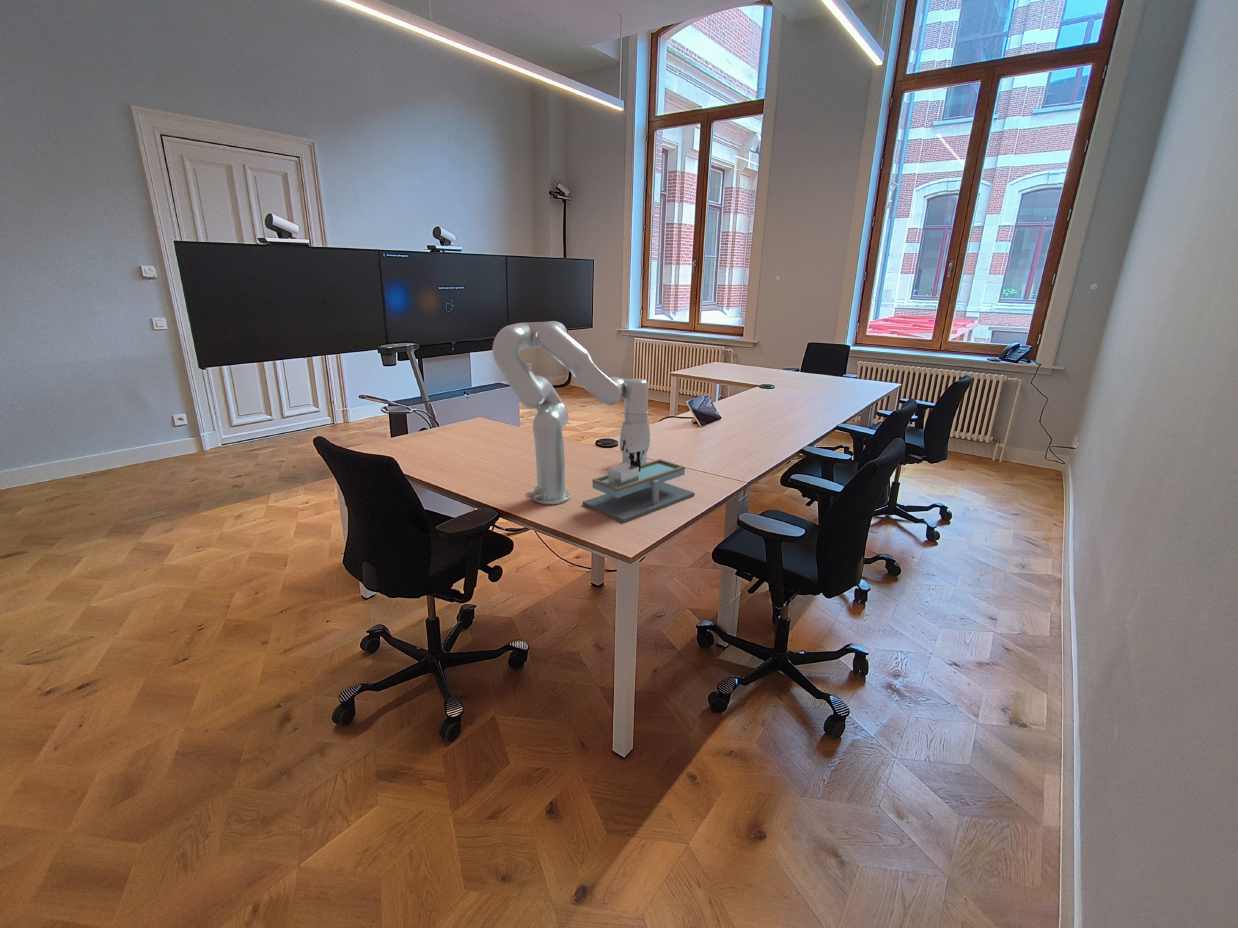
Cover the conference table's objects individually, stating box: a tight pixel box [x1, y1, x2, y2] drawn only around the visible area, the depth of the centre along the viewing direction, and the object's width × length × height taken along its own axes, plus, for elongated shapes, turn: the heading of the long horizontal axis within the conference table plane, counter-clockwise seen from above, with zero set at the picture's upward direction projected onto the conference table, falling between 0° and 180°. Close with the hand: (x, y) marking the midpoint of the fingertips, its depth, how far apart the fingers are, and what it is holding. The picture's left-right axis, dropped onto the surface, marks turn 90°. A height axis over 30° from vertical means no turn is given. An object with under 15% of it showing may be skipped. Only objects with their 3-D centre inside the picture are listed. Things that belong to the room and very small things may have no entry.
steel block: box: [607, 463, 639, 487], centre depth 182 cm, size 8×6×5 cm
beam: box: [591, 458, 686, 498], centre depth 189 cm, size 32×12×3 cm, turn 133°
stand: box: [582, 480, 695, 524], centre depth 190 cm, size 34×20×9 cm, turn 133°
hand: (635, 470), depth 187 cm, fingers closed
